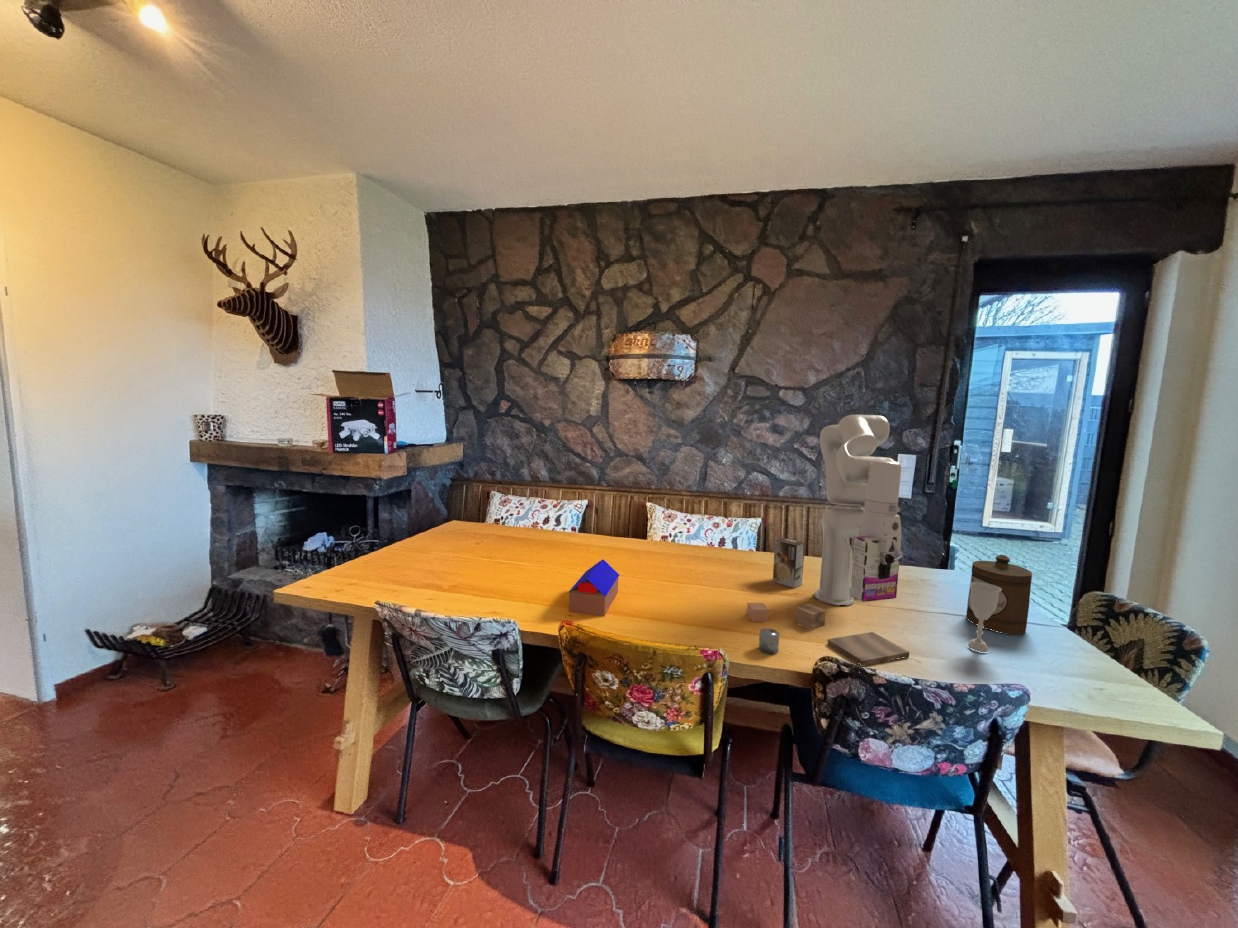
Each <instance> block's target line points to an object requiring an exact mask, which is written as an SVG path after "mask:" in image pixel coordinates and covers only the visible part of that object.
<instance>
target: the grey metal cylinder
mask: <svg viewBox="0 0 1238 928" xmlns="http://www.w3.org/2000/svg"><path fill="white" fill-rule="evenodd" d="M758 638H759V640H758V650H759V651H760V653H763V654H766V655H772V656H773V655H777V654H778V653H779V646H780V645H779V643H780V632H779V631H778V630H776V629H773V628H770V627H769V628H768V627H767V628H765V627H764V628H761V629H759V637H758Z"/></svg>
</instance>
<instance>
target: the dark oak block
mask: <svg viewBox="0 0 1238 928" xmlns="http://www.w3.org/2000/svg"><path fill="white" fill-rule="evenodd" d="M826 611H827V610H826V609H823V608H821V607H819V606H816V605H813V604H811V603H805V604H801V605H798V606H796V607H795V616H794V623H795V624H797V625H799V624H800V626H801V625H802V626H801V627H804V628H805V629H808V630H810V629H811V630H810V631H814V630H817V629H820V628H822V626H823V627H825V622H826Z"/></svg>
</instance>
